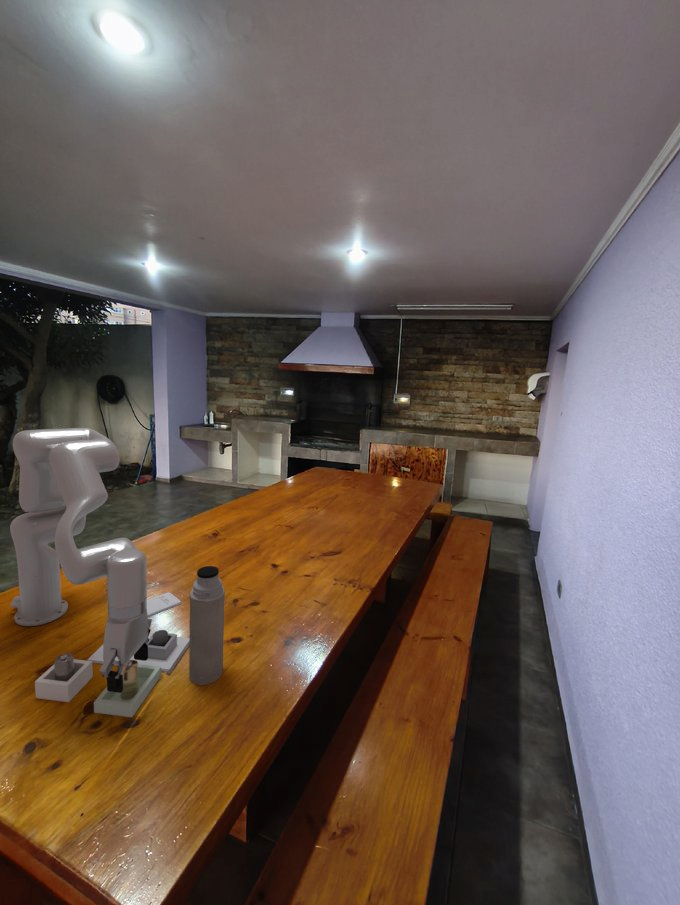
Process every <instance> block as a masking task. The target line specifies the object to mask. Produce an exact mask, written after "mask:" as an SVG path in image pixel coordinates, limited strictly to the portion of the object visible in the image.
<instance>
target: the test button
mask: <svg viewBox="0 0 680 905" xmlns="http://www.w3.org/2000/svg"><path fill="white" fill-rule="evenodd" d="M168 633H169V632H168V631H167V630H165V629H159V630H157V631H155V632H153V633H152V634H153V646H161V647H164V646H165V645H166V644H167V642H168Z"/></svg>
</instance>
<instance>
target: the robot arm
mask: <svg viewBox="0 0 680 905" xmlns="http://www.w3.org/2000/svg"><path fill="white" fill-rule="evenodd" d="M12 450H13V452H14V455H15V457H16V459H17V461H18V464H19V487H18V488H19V490H18V502H19V506H20V507H21V509H22V511H23V512H25V513H23V514H21V515H18V516H17V517H15V518H13V519H12V521H11V522H10V525H9V530H10V535H11V539H12V541H13V545H14V550H15V555H16V564H17V573H18V574H17V575H18V588H19V595H16V596H14V597H13V599H12V602H10V604H9V606H10V607H11V608H17V611H16V613H15V614H14V622H15V623H16V624H17V625H18V626H23V627H35V626H41V625H45V624H49V623H51V622H53V621H56V620H57V619H60V618H61V617H63V616H64V615H65V614H66V613H67V611H68V610H69V609H68V608H69V603H68V601H67V600H65V599H62V587H61V586H62V585H61V570H60V566H61V569H62V572H63V574H64V576H65V578H66V579H67V581H68V582H69V583H71V584H72V585H75V586H76V585H77V586H78V585H86V584H89V583H91V582H94V581H96V580H100V579H103V578H105V577H106V588H107V589H106V594H107V595H106V596H107V598H106V599H107V600H106V601H107V618H108V619H106V624H105V628H104V635H103V644H104V646H103V660H104V663H103V664H101V667H100V668H99V673H100V674H101V675H102V677H103V678H106V687H107V690H108V691H110V692H117V693H121V692H122V691H123V675H121V672H122V669H123V666H124V664H125V663H127V662H128V661H129V660H130V659H131V658H132V657H133V655H134V659H135V660H143V661H146V660H147V659H148V645H147V644H148V642H149V638H148V636H149V633H151V625H152V621H153V619H152V618H148V614H147V600H148V598H147V597H148V596H147V595H148V594H147V593H148V591H147V589H148V588H147V585H148V584H147V577H148V576H147V555H146V554H145V552H143V551H142V550H139V549H138V548H137V547H136V544H134V542H133V541H132V540H130V539H129V538H127V537H118V538H113V539H110V540H107V541H102V542H99V543H95V544H94V543H93V544H90V545H88V546H84V547H81V548H78V547H77V545H76V543H75V540H74V536H77V535H79V534H81V533H82V532H83V531H84V529H85V526H86V521H87V515H88V514H90V513H92V512H94V511H95V510H97V509H98V508H100V507H101V506H103V505H104V504H105V503H106V502H107V500H108V498H109V495H108V491H107V490H106V489H107V488H106V486H105V485H104V483H103V480H102V477H101V475H100V473H105V472H111V471H115V470H116V469H117V468H118V467H119V465H120V453H119V450H118V448H117V446H116V445H115V443H114V442H113V440H111V439H109V438H108V437H107V436H106V435H103V434H102V433H99V432H98V431H97V430H96V429H92V428H89V427H72V428H71V427H70V428H44V429H43V428H42V429H41V428H40V429H27V430H21V431H19V432H18V433H16V434H15V435H14V437H13V439H12ZM53 542H54V547H55V548H53V547H52V546H50V545H48V544H50V543H53ZM116 657H118V659H119V661H115V658H116ZM114 664H119V666H117V669H116V671H114V670H113V668H114V666H115V665H114Z"/></svg>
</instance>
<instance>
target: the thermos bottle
mask: <svg viewBox="0 0 680 905" xmlns="http://www.w3.org/2000/svg"><path fill="white" fill-rule="evenodd" d="M219 572H220V570H219V568H218V567H216V566H214V565H213V566H212V565H207V566H202V567H200V568H198V569H197V571H196V575H197V577H196V579H195V580H194V582H193V584H192V589H191V590H190V592H189V638H190V642H189V646H188V648H189V652H188V655H189V659H188V660H189V661H188V662H189V665H188V667H189V668H188V669H189V670H188V672H189V673H188V674H189V675H188V677H189V681H191V682H192V683H193V684H195V685H198V686H199V685H201V686H203V685H205V686H206V685H209V684H212V683H214V682H216V681H218V679H220V677H221V676H222V675H223V671H224V670H223V668H224V662H223V661H224V633H225V631H224V630H225V628H224V627H225V602H226V601H225V599H226V598H225V597H226V596H225V594H226V591H225V587H224V586H223V580H222V579H221V578H220V577H219Z"/></svg>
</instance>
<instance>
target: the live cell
mask: <svg viewBox="0 0 680 905" xmlns="http://www.w3.org/2000/svg"><path fill="white" fill-rule="evenodd" d="M121 675H123V691H122V692H121V693H120V694H121V698H122V699H125V700H128V699H131V698H133V697H135V695H136V694H137V693H138V662H137V661H136V660H129V661H128V662H127V663H125V664H124V666H123V669H122V672H121Z"/></svg>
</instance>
